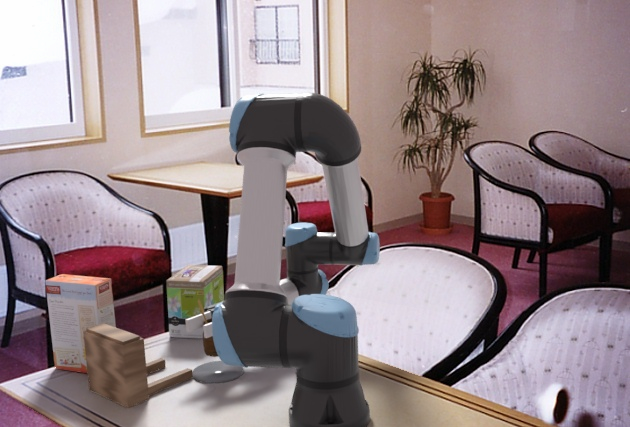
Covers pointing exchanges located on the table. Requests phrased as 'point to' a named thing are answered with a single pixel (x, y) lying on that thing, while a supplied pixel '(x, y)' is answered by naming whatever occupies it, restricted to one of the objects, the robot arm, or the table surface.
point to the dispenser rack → (123, 366)
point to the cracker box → (76, 315)
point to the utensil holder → (208, 342)
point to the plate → (216, 372)
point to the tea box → (192, 296)
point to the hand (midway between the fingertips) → (196, 328)
